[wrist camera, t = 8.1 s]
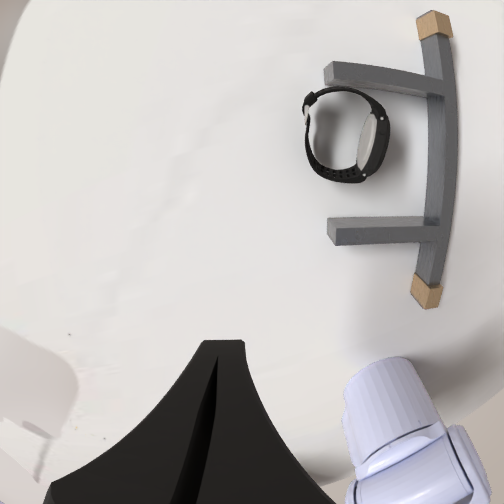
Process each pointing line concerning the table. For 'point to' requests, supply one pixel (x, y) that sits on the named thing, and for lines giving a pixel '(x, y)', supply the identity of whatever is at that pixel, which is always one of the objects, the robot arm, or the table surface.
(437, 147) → the bracket
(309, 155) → the smartwatch
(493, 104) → the table surface
